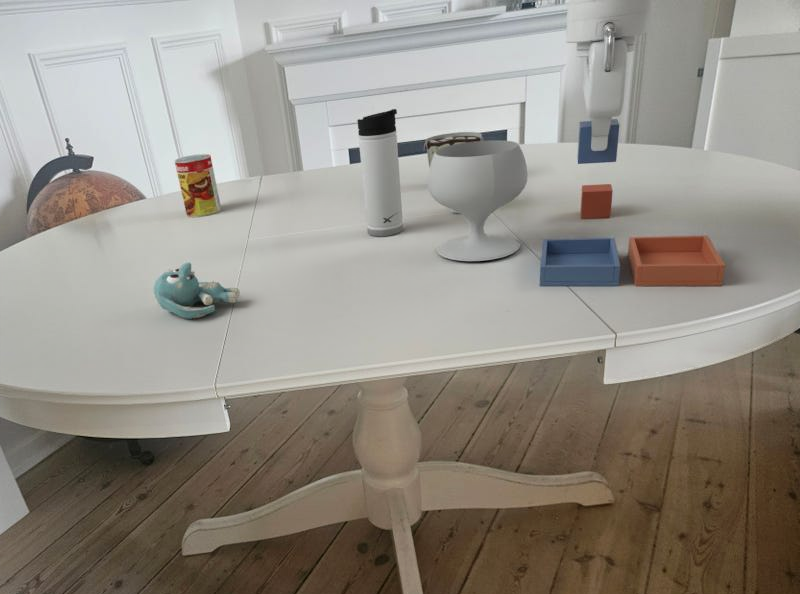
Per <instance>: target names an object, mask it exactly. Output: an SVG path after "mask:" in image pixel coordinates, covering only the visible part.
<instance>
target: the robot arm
mask: <svg viewBox="0 0 800 594" xmlns="http://www.w3.org/2000/svg"><path fill="white" fill-rule="evenodd" d="M566 7H567V8H566V29H565V43H566V44H567V43H568V44H576V51H575V56H576V58H581V78H582V90H583V97H584V104H585V110H586V116H587V117H588V119H589V121H592V138H591V149H592V150H593V151H603V150H605V149H606V148H607V144H608V134H609V129H610V125H611V119H613V118H614V117H620V116H621V115H622V112H623V108H624V101H625V90H626V89H625V88H626V78H627V77H626V75H627V64H628V63H627V60H628V53H631V52H633V51H635V46H636V45H635V44H636V37H637V36H642V35H646V34H648V32H649V25H650V17H651V7H652V0H567V6H566Z"/></svg>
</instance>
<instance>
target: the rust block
mask: <svg viewBox="0 0 800 594" xmlns="http://www.w3.org/2000/svg"><path fill="white" fill-rule="evenodd" d="M613 192H614V191H613V186H612V184H611V183H603V184H600V183H599V184H583V185H581V197H580V219H581V220H584V219H586V220H587V219H609V218H608V217H610V218H611V215H612V203H613Z"/></svg>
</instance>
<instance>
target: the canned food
mask: <svg viewBox="0 0 800 594" xmlns="http://www.w3.org/2000/svg"><path fill="white" fill-rule="evenodd" d="M174 165H175V169H176V174H177V178H178V182H179V187H180V191H181V195H182V200H183V204H184V208H185V209H184V210H185V213H186V216H187V217H189V218H201V217H206V216H212V215H215V214H218V213H219V212H221V211H222V205H221V202H220V196H219V191H218V190H219V189H218V186H217V180H216V176H215V171H214V166H213V161H212V156H211V154H209V153H201V154H199V153H198V154H192V155H186V156H182V157H179V158H176V159H175V160H174Z"/></svg>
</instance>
